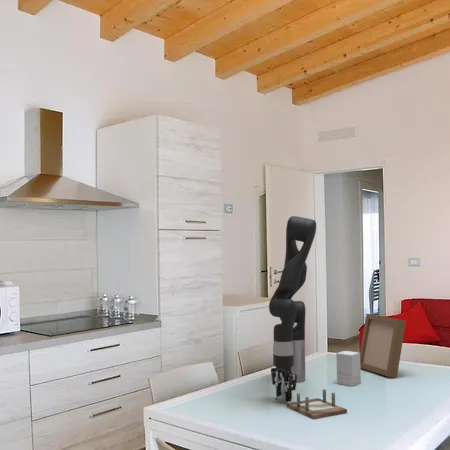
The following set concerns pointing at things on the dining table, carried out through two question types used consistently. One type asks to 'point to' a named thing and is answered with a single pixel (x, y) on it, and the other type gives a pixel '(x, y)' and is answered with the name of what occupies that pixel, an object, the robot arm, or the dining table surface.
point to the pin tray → (316, 407)
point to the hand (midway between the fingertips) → (283, 399)
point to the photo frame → (382, 344)
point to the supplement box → (348, 368)
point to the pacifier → (282, 397)
